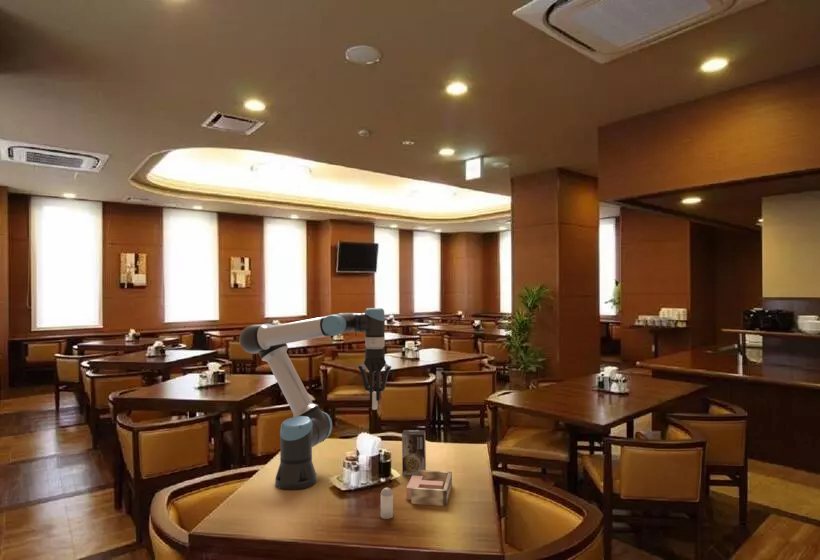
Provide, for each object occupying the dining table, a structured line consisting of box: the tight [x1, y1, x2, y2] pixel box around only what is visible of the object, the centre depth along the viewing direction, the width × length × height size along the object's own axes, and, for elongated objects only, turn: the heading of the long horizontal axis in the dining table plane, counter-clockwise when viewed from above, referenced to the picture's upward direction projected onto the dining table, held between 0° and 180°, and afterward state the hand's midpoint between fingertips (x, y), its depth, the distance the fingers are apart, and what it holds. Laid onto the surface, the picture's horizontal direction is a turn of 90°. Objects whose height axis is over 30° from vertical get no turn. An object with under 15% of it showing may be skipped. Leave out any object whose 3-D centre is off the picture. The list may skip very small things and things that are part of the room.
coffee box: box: [401, 429, 427, 476], centre depth 199 cm, size 9×6×16 cm
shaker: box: [380, 487, 394, 520], centre depth 160 cm, size 4×4×9 cm
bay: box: [410, 469, 453, 507], centre depth 178 cm, size 12×18×5 cm, turn 170°
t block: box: [405, 475, 444, 501], centre depth 178 cm, size 12×12×4 cm
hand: (374, 408), depth 194 cm, fingers closed
